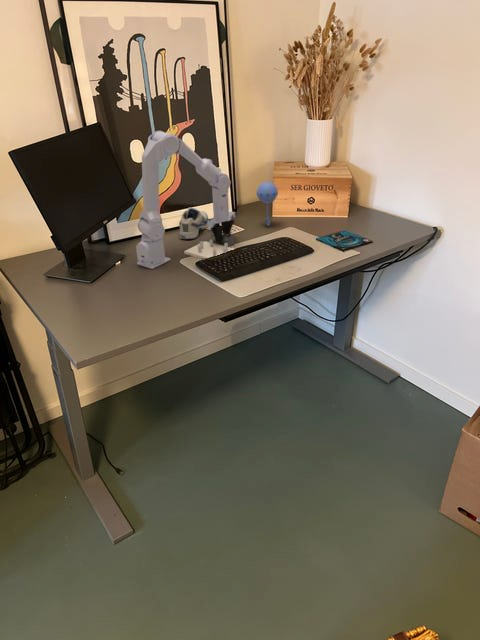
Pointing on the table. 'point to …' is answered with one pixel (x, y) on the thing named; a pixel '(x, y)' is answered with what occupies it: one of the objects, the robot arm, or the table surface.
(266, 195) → the baby rattle
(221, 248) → the pegged base plate
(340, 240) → the guitar string package
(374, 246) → the table surface
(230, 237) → the block
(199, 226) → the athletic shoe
